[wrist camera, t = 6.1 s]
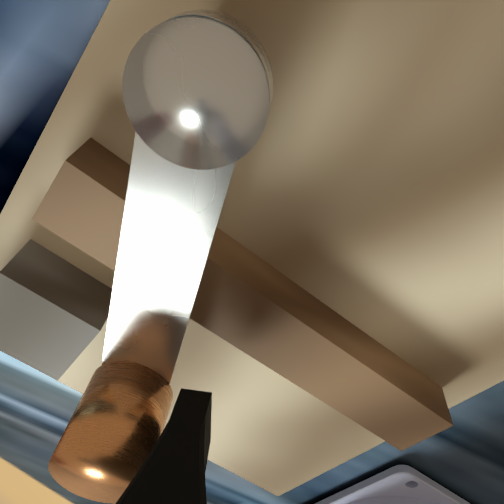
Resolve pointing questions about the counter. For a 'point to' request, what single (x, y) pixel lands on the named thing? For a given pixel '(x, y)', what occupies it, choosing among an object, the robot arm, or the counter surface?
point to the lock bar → (164, 233)
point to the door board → (295, 231)
